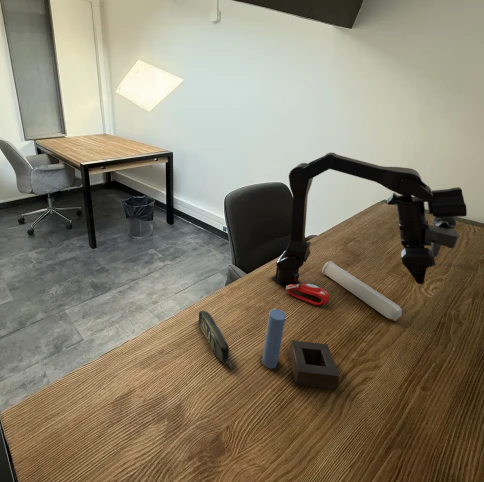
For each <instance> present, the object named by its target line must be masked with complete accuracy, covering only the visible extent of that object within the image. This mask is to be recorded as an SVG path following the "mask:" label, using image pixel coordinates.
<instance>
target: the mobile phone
mask: <svg viewBox="0 0 484 482" xmlns="http://www.w3.org/2000/svg"><path fill="white" fill-rule="evenodd" d="M197 322H198V327H199V328H200V330H201V332H202V334H203V336H204V337H205V339H206V341H207V342H208V345H209V347H210V350H211V352H212V353H213V355H214V356H215V357H216V358H217V359H218V360H219V362H225V363H226V364H227V365H228V367H229V368H230V369H231V368H232V367H233V366H232V363H231V362H230V361H229V356H230V349H229V344H228V342H227V341H226V338H225V335H224V333H223V332H222V330H221V328H220V327H219V325H218V324H217V323H216V321H215V319H214V318H213V317H212V315H211V313H210V312H208V311H206V310H201V311H200V310H199V312H198V321H197Z"/></svg>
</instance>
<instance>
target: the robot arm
mask: <svg viewBox="0 0 484 482" xmlns="http://www.w3.org/2000/svg"><path fill="white" fill-rule="evenodd" d="M328 170H332V171H335V172H338V173H343V174H345V175H350V176H354V177H357V178H361V179H364V180H367V181H371V182H374V183H377V184H379V185H381V186H383V187H384V188H386V189H387V190H389V191H391V192H392V194H391V196H389V197H388V198H387V201H386V204H387V205H388V206H392V205H396V206H395V207H396V212H397V218H398V229H399V236H400V243H401V246H403V249H402V250H401V251H400V253H401V254H400V255H401V264H402V265H403V266H404V267H405V268H406V269H407V271H408V273H410V275H411V276H412V277H413V279H414V280H415V282H416V283H417V284H418V285H424V283H425V278H426V273H427V269H428V268H432V267H434V266H435V265H436V261H435V257H434V255H433V251H431V250H430V248H428V247H431V246H432V245H431V243H435V244H439V245H441V246H444V247H447V248H448V249H455V247H456V245H457V242H458V240H459V238H460V235H459V233H458V231H457V230H455V228H454V229H453V228H452V229H450V227H449V224H448V222H445V221H440V222H439V223H437V224H436V225H435V224H434V225H433V224H430V223H429V221H428V219H427V215H426V208H425V207H426V206H425V203H427V204H426V205H427V211H428V214H429V215H432V217H435V218H444V217H453V218H461V217H463V218H464V217H467V212H468V210H467V204H466V203H465V199H464V195H463V189H462V188H461V187H460V186H459V187H451V188H446V189H435V190H434V189H433V190H432V189H431V187H430V186H429V185H427V184H426V183H425V182H424V181H423V180H422V178H421V177H422V176H421V175H420V173H419V172H418V170H416V169H413V168H411V167H400V166H384V165H383V166H382V165H378V164H374V163H370V162H366V161H363V160H359V159H355V158H351V157H348V156H343V155H340V154H337V153H335V152H331V151H330V152H327V153H325V154H324V155H323V156H320V157H319V158H316V159H314V160H312V161H310V162H301V163H299V164H298V165H296V166H295V167H293V168H292V169H291V170H290V171H289V173H288V183H289V188H290V192H291V194H292V203H291V204H292V205H291V208H292V209H291V219H290V220H291V222H290V223H291V224H290V237H289V241H288V245H287V248H286V250H284V251H283V253H282V254H281V255H280V257H279V258H278V260H277V261H276V264H275V265H276V271H275V275H274V276H273V277H271V280H272V281H274V282H275V283H276V284H278V285H279V286H281V287H282V288H284V289H285V290H286V288H287V287H286V286H288V285H291V284H294V285H297V284H299V285H300V280H299V278H300V273H299V271H300V268H301V267H303V265H304V264H305V263H307V260H308V259H309V256H310V254H311V249H310V248H311V244H312V242H311V241H307V238H306V225H307V212H308V211H307V210H308V198H309V197H308V196H309V193H310V189H311V186H312V184H313V180H314V178H316V177H317V176H320V175H321V174H323V173H324V172H326V171H328ZM427 246H428V247H427Z"/></svg>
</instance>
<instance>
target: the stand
mask: <svg viewBox="0 0 484 482" xmlns="http://www.w3.org/2000/svg"><path fill="white" fill-rule="evenodd" d="M289 344H290V345H289V349H288V355H289V356H288V357H289V360H290V364H291V368H292V373H293V378H294V383H295V385H296V386H303V387H311V388H312V387H313V388H318V389H319V388H320V389H329V390H337V387H338V383H339V379H340V374H339V370H338V369H337V365H336V362H335V360H334V358H333V355H332V353H331V350H330V347H329V345H328V343H320V342H311V341H303V340H290V343H289ZM306 362H308V363H316V364H318V365H316V364H315V365H314V364H307V363H306Z"/></svg>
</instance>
